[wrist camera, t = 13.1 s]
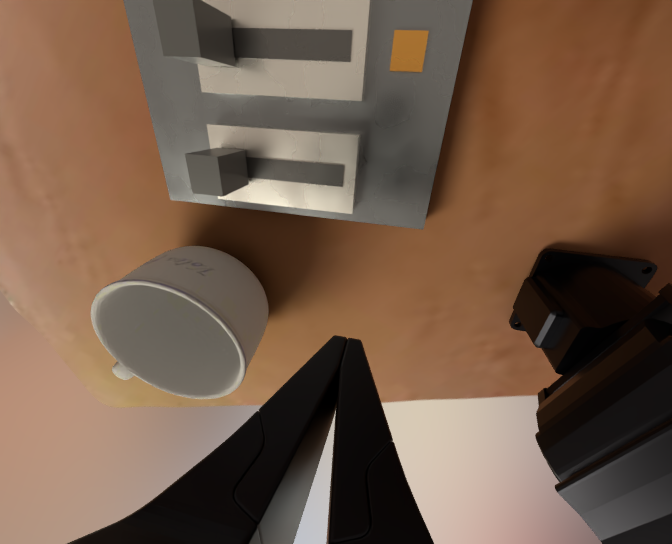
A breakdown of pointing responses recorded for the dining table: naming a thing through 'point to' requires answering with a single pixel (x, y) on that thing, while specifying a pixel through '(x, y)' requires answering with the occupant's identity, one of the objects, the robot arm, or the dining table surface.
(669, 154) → the dining table surface
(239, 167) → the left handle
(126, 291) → the teacup
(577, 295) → the robot arm
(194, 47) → the handle
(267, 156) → the breaker panel
